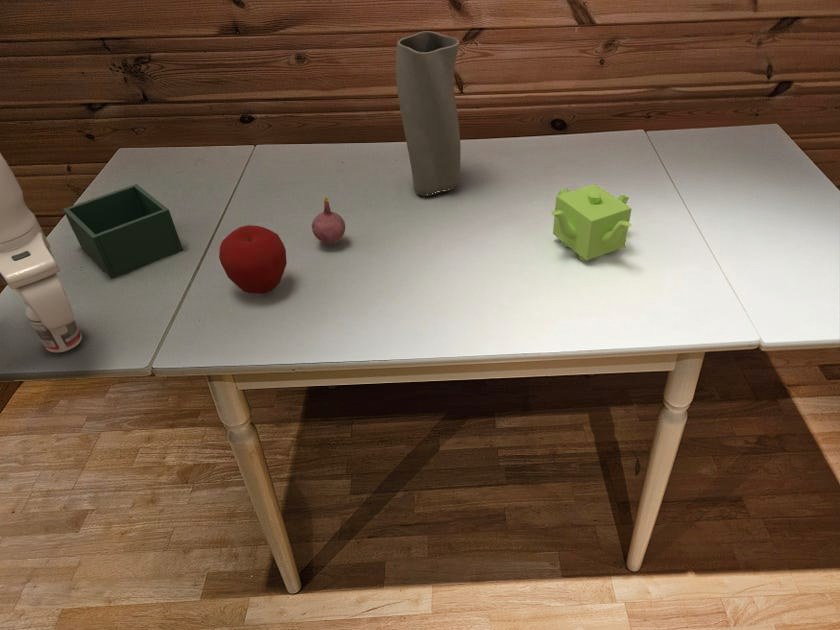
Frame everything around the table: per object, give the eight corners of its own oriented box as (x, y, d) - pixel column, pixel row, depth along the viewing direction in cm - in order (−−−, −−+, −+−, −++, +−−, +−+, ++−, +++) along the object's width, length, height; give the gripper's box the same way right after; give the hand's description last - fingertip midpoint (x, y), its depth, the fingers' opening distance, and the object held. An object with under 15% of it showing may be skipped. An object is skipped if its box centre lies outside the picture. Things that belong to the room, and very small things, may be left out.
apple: (226, 278, 117) (208, 221, 109) (285, 264, 121) (272, 208, 113) (236, 313, 110) (217, 254, 102) (299, 297, 113) (286, 239, 105)
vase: (423, 207, 136) (414, 56, 116) (395, 184, 144) (382, 38, 123) (472, 192, 141) (472, 44, 121) (443, 170, 149) (438, 27, 128)
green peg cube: (622, 273, 119) (632, 219, 111) (545, 264, 121) (549, 210, 114) (627, 230, 130) (636, 178, 122) (556, 222, 132) (560, 171, 124)
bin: (111, 279, 117) (92, 237, 111) (82, 249, 124) (62, 208, 118) (183, 249, 124) (168, 209, 118) (151, 223, 131) (136, 183, 125)
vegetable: (351, 249, 125) (344, 202, 118) (319, 256, 123) (310, 208, 116) (343, 233, 129) (336, 187, 122) (312, 240, 127) (303, 193, 120)
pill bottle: (79, 327, 107) (53, 278, 100) (86, 345, 104) (60, 295, 97) (42, 339, 105) (14, 290, 98) (48, 358, 101) (19, 308, 95)
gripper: (-36, 226, 96) (9, 301, 105) (10, 285, 85) (55, 363, 94) (10, 211, 99) (50, 285, 108) (60, 266, 88) (99, 343, 98)
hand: (53, 322), depth 101 cm, fingers closed on pill bottle, 5 cm apart
